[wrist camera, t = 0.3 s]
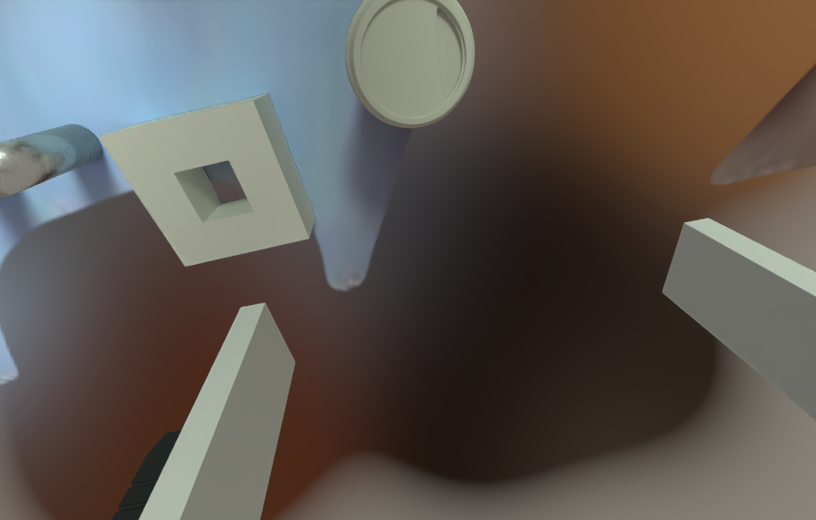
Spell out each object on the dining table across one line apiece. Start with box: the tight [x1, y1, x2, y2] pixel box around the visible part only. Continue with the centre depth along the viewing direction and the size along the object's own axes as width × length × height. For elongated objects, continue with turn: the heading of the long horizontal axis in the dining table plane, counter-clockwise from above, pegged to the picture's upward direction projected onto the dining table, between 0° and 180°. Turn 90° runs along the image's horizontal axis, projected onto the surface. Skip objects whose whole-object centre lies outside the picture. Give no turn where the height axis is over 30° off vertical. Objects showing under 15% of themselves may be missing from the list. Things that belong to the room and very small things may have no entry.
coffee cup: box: [345, 0, 475, 128], centre depth 26 cm, size 8×8×12 cm
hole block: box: [99, 94, 316, 266], centre depth 33 cm, size 13×13×5 cm
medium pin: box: [0, 124, 102, 198], centre depth 28 cm, size 3×3×10 cm
